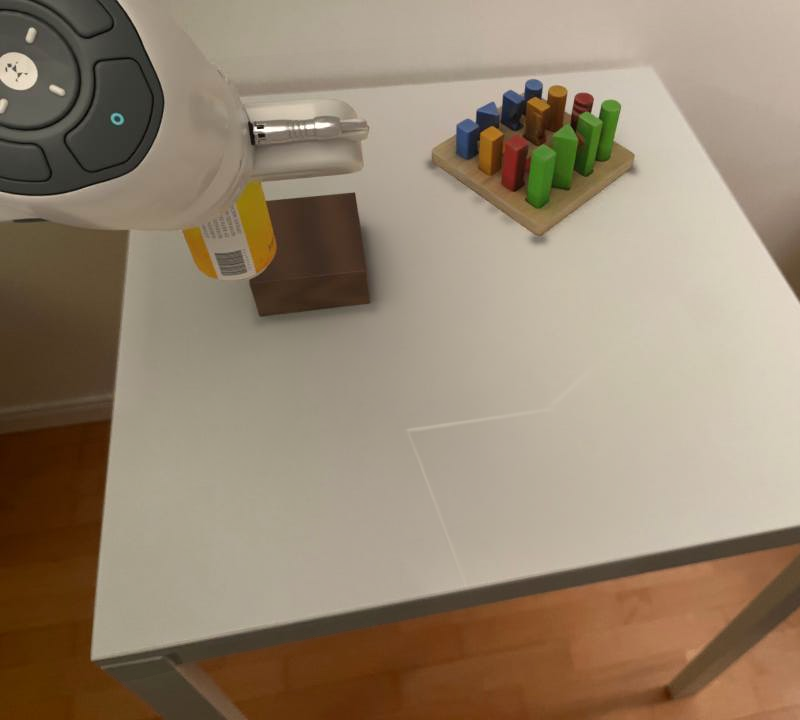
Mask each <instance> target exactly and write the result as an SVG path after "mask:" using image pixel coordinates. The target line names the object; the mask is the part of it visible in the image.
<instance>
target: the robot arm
mask: <svg viewBox="0 0 800 720" xmlns="http://www.w3.org/2000/svg"><path fill="white" fill-rule="evenodd" d="M210 62H211V61H210V60H208V59H207V57H206V56H205V54H204V53H203V51H202V50H201V49H200V47H199V46H198V45H197V44H196V42H195V41H194V40H193V39H192V37H190V36H189V34H188V33H187V32H186V31H185V30H184V29H183V28H182V27H181V25H179V24H178V23H177V22H176V21H175V20H174V19H173V18H172V17H171V16H170V15H169V14H167V12H165V11H164V9H162V8H161V7H160V6H158V4H156V3H155V2H153V1H152V0H0V223H14V224H15V223H16V224H25V223H43V222H44V223H45V222H52V223H56V224H61V225H64V226H65V225H66V226H70V227H76V228H82V229H90V230H98V231H128V230H129V231H130V230H132V231H144V232H176V231H178V232H179V231H182V230H187V229H192V228H196V227H199V226H202V225H205V224H207V223H209V222H211V221H213V220H215V219H216V218H218V217H220V216H221V215H222V214H224V213H225V212H226V211H227V210H228V209H230V208H231V207H232V206H233V205H234V203H235V202H236V201H237V200H238V199H239V197H240V196H241V194H242V193H243V191H244V189H245V187H246V186H247V183H257V182H261V183H268V182H277V181H278V182H279V181H288V180H298V179H309V178H310V179H311V178H319V177H333V176H341V175H349V174H355V173H359V172H361V171H362V170H363V169H364V167H365V166H364V165H365V163H364V155H363V145H362V141H365V140H367V139H368V138H369V133H370V125H369V124H368V121H367V120H366V119H364V118H359V117H358V114H357V112H356V110H355V108H353V107H352V105H350V104H349V103H348V102H346V101H344V100H340V99H336V98H302V99H289V100H288V99H287V100H278V101H277V100H275V101H262V102H260V101H259V102H249V103H247V102H246V103H243V102H242V101H241V98H240V99H239V97H240V96H239V97H238V96H237V95H236V93H235V92H234V91H233V89H232V88H231V87H230V86H229V85H228V83H227V82H226V81H225V79H224V78H223V77H222V76H221V74H220V73H219V72H218V71H217V70H216V69H215V67H214V66H213V65H212V64H211V63H210Z"/></svg>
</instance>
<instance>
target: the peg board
mask: <svg viewBox="0 0 800 720" xmlns="http://www.w3.org/2000/svg"><path fill="white" fill-rule="evenodd" d="M543 89H544V84H543V82H542V81H541V80H539V79H536V78H530V79H527V80H526V81H525V83H524V91H523V92H522V93H520V94H519V93H517V92H516V91H514V90H513V89H509V90H507V91H505V92H504V93H503V94H502V99H501V100H502V103H501V106H499V107H497V104H496V103H495V101H491V102H488V103H487V104H484V105H483V106H481V107H478V108H477V109H476V112H475V121H474V120H472V119H471V118H470V117H469V118H468V117H467V118H465V119H464V120H462V121H460V122H458V123H457V124H456V128H455V131H456V132H455V134H454V135H452V136H451V137H449V138H448V139H446V140H444V141H443V142H441V143H439V144H438V145H436V146H435V147H433V148H432V149H431V160H432V162H433V163H434V165H436V166H437V167H439V168H441V169H442V170H444V172H446V173H447V174H450V175H451V176H452V177H454V178H455V179H456V180H458V181H459V182H461V183H462V184H464V185H465V186H466V187H468V188H469V189H471V190H472V191H474V192H475V193H477V194H478V195H479V196H481V198H484V199H485V200H486V201H488V202H489V203H491V204H492V205H493V206H495V207H496V208H498V209H499V210H500V211H502V212H503V213H505V214H506V215H507V216H509V217H510V218H512V219H513V220H515V221H516V222H517V223H519V224H520V225H521V226H523V227H524V228H526V229H527V230H529V231H530V232H532V233H533V234H535V235H537V236H540V235H543V234H545V233H547V232H548V231H549V230H550V229H552V228H553V227H554V226H555V225H557V224H558V223H560V222H561V221H562V220H564V219H565V218H566V217H568V216H569V215H570V214H572V213H573V212H574V211H576V210H578V208H580V207H581V206H582V205H583V204H585V203H586V202H588V201H589V200H591V198H593V197H594V196H595V195H597V194H598V193H600V192H601V191H602V190H603V189H605V188H606V187H608V186H609V185H611V183H612V182H614V181H615V180H617V179H618V178H620V177H621V176H622V175H623V174H624V173H626V172H627V171H628V170H630V169H631V168H632V167H633V165H634V161H635V156H636V155H635V153H634V152H632V151H631V150H630V149H628V148H627V147H625V146H623V145H621V144H620V143H618V142H616V141H615V135H616V131H617V128H618V127H617V126H618V123H619V118H620V115H621V112H622V111H621V110H622V104H621V103H620V102H619V101H617V100H616V99H606V100H604V101H602V103H601V105H600V110H599V115H598V117H597V116H596V115H594V114H593V113H592V111H593V107H594V101H595V99H594V96H593V94H590V93H588V92H578V93H576V94H575V95H574V98H573V104H572V109H571V114H570V113H569V112H567V111H566V106H567V104H566V103H567V98H568V89H567V87H565V86H563V85H559V84H555V85H551V86H549V88H548V90H547V99H545V98H543V91H544V90H543Z"/></svg>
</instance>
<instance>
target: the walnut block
mask: <svg viewBox="0 0 800 720" xmlns="http://www.w3.org/2000/svg"><path fill="white" fill-rule="evenodd" d="M266 204H267V208H268V212H269V216H270V220H271V224H272V228H273V232H274V236H275V240H276V253H275V256H274V258H273V260H272V261H271V262H270V264H269V265H268V266H267V267H266V269H265V270H264V271H263V272H262V273H260V274H259V275H257V276H256V277H254V278H252V279H249V280H248V284H249V287H250V290H251V293H252V297H253V301H254V304H255V307H256V310H257V313H258V316H259V317H267V316H274V315H283V314H291V313H301V312H309V311H316V310H326V309H332V308H341V307H349V306H358V305H367V304H371V295H370V286H369V277H368V267H367V262H366V256H365V255H366V254H365V247H364V241H363V234H362V227H361V223H360V222H361V221H360V214H359V208H358V201H357V195H356V192H345V193H344V192H343V193H332V194H323V195H322V194H321V195H313V196H312V195H311V196H302V197H291V198H281V199H270V200H269V199H268V200H266Z"/></svg>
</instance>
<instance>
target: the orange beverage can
mask: <svg viewBox="0 0 800 720" xmlns="http://www.w3.org/2000/svg"><path fill="white" fill-rule="evenodd" d="M209 62H210V63H211V64H212V65H213V66H214V67H215V69H216V70H217V71H218V72H219V73H220V74H221V76H222V77H223V78H224V79H225V81H226V82H227V83H228V85H229V86H230V87H231V88H232V89H233V91H234V92H235V93H236V95H237V96H238V97H239V99H240V100H241V97H240V93H239V90H238V88H237V85H235V84H234V82H233V81H231V79H230V78H229V77H228V75H227V73H226V71H225V70H224V69H223V68H222V67H221V66H219V65H218V64H216V63H214V62H212V61H209ZM263 188H264V187H263V184H262V182H257V183H247V186H246V187H245V189H244V191H243V193H242V194H241V196H240V197H239V199H238V200H237V201H236V202H235V203H234V205H233V206H232V207H231V208H230V209H228V210H227V211H226V212H225V213H224V214H222V215H221V216H220V217H218V218H216V219H215V220H213V221H211V222H209V223H207V224H205V225H202V226H199V227H196V228H192V229H187V230H181V231H182V232H181V233H182V235H183V236H184V239H185V241H186V244H187V247H188V249H189V252H190V254H191V257H192V260H193V262H194V265H195V266H196V268H197V269H198V271H200V272H201V273H202V274H203V275H205V276H207V277H209V278H211V279H215V280H218V281H220V282H225V283H241V282H246V281H249V279H252V278H254V277H256V276H257V275H259V274H260V273H262V272H263V271H264V270H265V269H266V267H267V266H268V265H269V264H270V262H271V261H272V260H273V258H274V256H275V253H276V240H275V236H274V232H273V228H272V224H271V220H270V216H269V212H268V208H267V204H266V201H267V200H266V197H265V193H264V189H263Z"/></svg>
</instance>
